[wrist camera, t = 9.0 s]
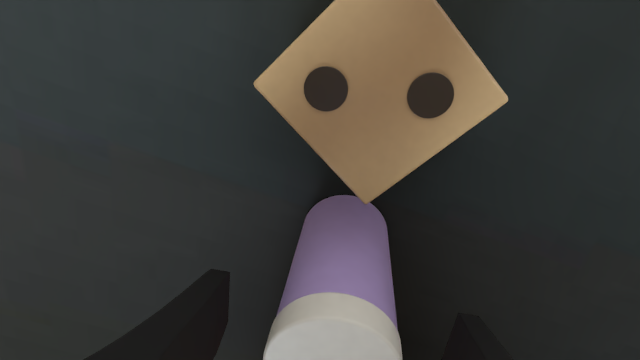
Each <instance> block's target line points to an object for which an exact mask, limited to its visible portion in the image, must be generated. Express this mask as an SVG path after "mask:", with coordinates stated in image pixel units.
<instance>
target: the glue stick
mask: <svg viewBox="0 0 640 360" xmlns="http://www.w3.org/2000/svg"><path fill="white" fill-rule="evenodd" d="M263 360H403V358H402V349H401V340H400V336H399V333H398V329H397V319H396V309H395V300H394V290H393V281H392V271H391V261H390V252H389V242H388V232H387V226H386V222H385V220H384V217H383V216H382V214H381V213H380V211H379V210H378V209H377V208H376V207H375V206H374V205H372V204H371V203H370V202H369V203H368V204H364V203H363V202H362V201H361V200H360V199H359V198H358V197H355V196H350V195H336V196H332V197H329V198H326V199H324V200H322V201H320V202H318V203H317V204H316V205H315V206H313V207H312V209H311V210H310V211H309V212H308V214H307V216H306V218H305V221H304V224H303V228H302V231H301V234H300V238H299V241H298V245H297V248H296V251H295V255H294V258H293V261H292V265H291V268H290V272H289V275H288V278H287V282H286V285H285V289H284V292H283V295H282V299H281V302H280V306H279V309H278V312H277V316H276V318H275V319H274V322H273V324H272V326H271V330H270V333H269V336H268V340H267V343H266V346H265V350H264V354H263Z"/></svg>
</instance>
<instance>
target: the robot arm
mask: <svg viewBox="0 0 640 360" xmlns="http://www.w3.org/2000/svg"><path fill="white" fill-rule="evenodd" d="M229 281H230V272H226V271H220V270H215V269H210V270H209V271H207V272H206V273H205V274H204V275H203V276H201V277H200V278H199V279H198V280H197V281H195V282H194V283H193V284H192V285H191V286H189V287H188V288H187V289H186V290H185V291H183V292H182V293H181V294H180V295H178V296H177V297H176V298H175V299H173V300H172V301H171V302H169V303H168V304H167V305H166V306H164V307H163V308H162V309H160V310H159V311H158V312H157V313H155V314H154V315H152V316H151V317H150V318H148V319H147V320H145V321H144V322H143V323H141V324H140V325H138V326H137V327H135V328H134V329H133V330H131V331H130V332H128V333H127V334H125V335H124V336H122V337H121V338H119V339H117V340H116V341H114V342H113V343H111V344H109V345H108V346H106V347H104V348H103V349H101V350H100V351H98V352H96V353H94V354H93V355H91V356H89V357H87V358H85V359H84V360H213V359H214V357H215V355H216V353H217V350H218V347H219V345H220V342H221V339H222V337H223V334H224V331H225V328H226V325H227V322H228V307H229ZM442 360H513V359H512V357H511V356H510V355H509V354H508V352H507V351H506V350H505V349H504V347H503V346H502V345H501V344H500V342H499V341H498V340H497V339H496V337H495V336H494V335H493V334H492V332H491V331H490V330H489V329H488V327H487V326H486V325H485V324H484V322H483V321H482V320H481V319H480V318H479V317H478V316H473V315H467V314H462V313H458V316H457V319H456V321H455V324H454V327H453V329H452V332H451V335H450V338H449V340H448V343H447V346H446V349H445V351H444V354H443V357H442Z"/></svg>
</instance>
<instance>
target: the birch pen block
mask: <svg viewBox="0 0 640 360" xmlns="http://www.w3.org/2000/svg"><path fill="white" fill-rule="evenodd" d="M254 87H255V88H256V89H257V90H258V91H259V92H260V93H261V94H262V95H263V96H264V97H265V98H266V99H267V101H268V102H269V103H270V104H271V105H272V106H273V107H274V108H275V109H276V110H277V111H278V112H279V113H280V114H281V116H282V117H283V118H284V119H285V120H286V121H287V122H288V123H289V124H290V125H291V126H292V127H293V128H294V129H295V130H296V132H297V133H298V134H299V135H300V136H301V137H302V138H303V139H304V140H305V141H306V142H307V143H308V144H309V145H310V146H311V148H312V149H313V150H314V151H315V152H316V153H317V154H318V155H319V156H320V157H321V158H322V159H323V160H324V161H325V163H326V164H327V165H328V166H329V167H330V168H331V169H332V170H333V171H334V172H335V173H336V174H337V175H338V176H339V177H340V179H341V180H342V181H343V182H344V183H345V184H346V185H347V186H348V187H349V188H350V189H351V190H352V191H353V192H354V193H355V195H356V196H357V197H358V198H359V199H360V200H361V201H362V202H363V203H364V204H368V203H369V202H371V201H372V200H374V199H375V198H376V197H378V196H379V195H380V194H382V193H383V192H385V191H386V190H387V189H389V188H390V187H391V186H393V185H394V184H396V183H397V182H398V181H400V180H401V179H402V178H404V177H405V176H406V175H408V174H409V173H411V172H412V171H413V170H415V169H416V168H417V167H419V166H420V165H422V164H423V163H424V162H426V161H427V160H428V159H430V158H431V157H433V156H434V155H435V154H437V153H438V152H439V151H441V150H442V149H443V148H445V147H446V146H448V145H449V144H450V143H452V142H453V141H454V140H456V139H457V138H459V137H460V136H461V135H463V134H464V133H465V132H467V131H468V130H470V129H471V128H472V127H474V126H475V125H476V124H478V123H479V122H481V121H482V120H483V119H485V118H486V117H487V116H489V115H490V114H491V113H493V112H494V111H496V110H497V109H498V108H500V107H501V106H502V105H504V104H505V103H507V101H508V97H507V95H506V94H505V92H504V91H503V90H502V88H501V87H500V86H499V84H498V83H497V82H496V80H495V79H494V78H493V76H492V75H491V74H490V72H489V71H488V70H487V68H486V67H485V65H484V64H483V63H482V61H481V60H480V59H479V57H478V56H477V55H476V53H475V52H474V51H473V49H472V48H471V47H470V45H469V44H468V43H467V41H466V40H465V38H464V37H463V36H462V34H461V33H460V32H459V30H458V29H457V28H456V26H455V25H454V24H453V22H452V21H451V20H450V18H449V17H448V16H447V14H446V13H445V11H444V10H443V9H442V7H441V6H440V5H439V3H438V2H437V1H436V0H334V1H333V2H332V3H331V4H330V5H329V6H328V7H327V8H326V9H325V10H324V11H323V12H322V13H321V14H320V15H319V16H318V17H317V19H316V20H315V21H314V22H313V23H312V24H311V25H310V26H309V27H308V28H307V29H306V30H305V31H304V32H303V33H302V34H301V35H300V36H299V37H298V38H297V39H296V40H295V41H294V42H293V43H292V44H291V45H290V46H289V47H288V48H287V49H286V50H285V51H284V52H283V53H282V54H281V55H280V56H279V57H278V58H277V59H276V60H275V61H274V62H273V63H272V64H271V65H270V66H269V67H268V68H267V69H266V70H265V71H264V72H263V73H262V74H261V75H260V76H259V77H258V78H257V79H256V80H255V81H254Z"/></svg>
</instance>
